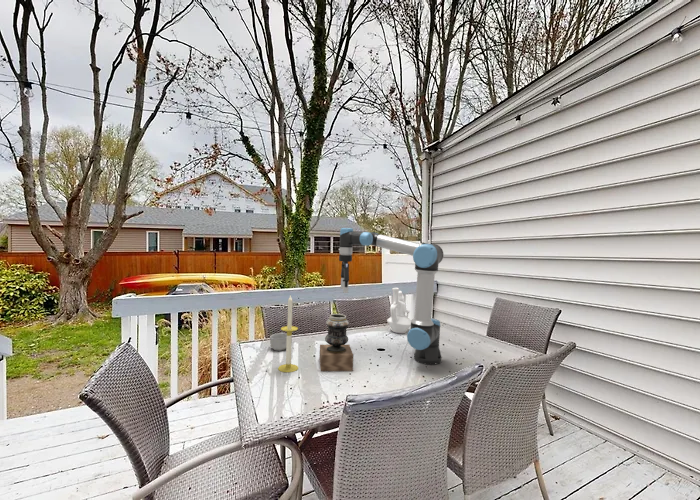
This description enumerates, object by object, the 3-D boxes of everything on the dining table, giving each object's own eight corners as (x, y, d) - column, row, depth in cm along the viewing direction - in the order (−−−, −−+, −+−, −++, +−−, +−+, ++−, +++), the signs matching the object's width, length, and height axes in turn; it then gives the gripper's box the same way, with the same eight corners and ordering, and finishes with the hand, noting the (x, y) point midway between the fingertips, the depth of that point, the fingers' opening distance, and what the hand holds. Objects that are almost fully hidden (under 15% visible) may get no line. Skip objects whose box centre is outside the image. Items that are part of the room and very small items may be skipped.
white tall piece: (416, 332, 245) (419, 287, 244) (398, 338, 230) (400, 290, 228) (396, 326, 258) (398, 284, 256) (377, 332, 242) (379, 286, 241)
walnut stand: (348, 358, 189) (349, 344, 189) (352, 370, 173) (353, 355, 173) (319, 359, 187) (319, 344, 187) (320, 371, 171) (321, 355, 171)
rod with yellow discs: (289, 374, 166) (291, 296, 164) (273, 369, 171) (275, 294, 169) (302, 367, 175) (304, 294, 173) (287, 363, 180) (289, 291, 178)
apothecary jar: (352, 350, 180) (354, 315, 179) (336, 355, 171) (337, 319, 170) (336, 344, 188) (337, 311, 187) (319, 349, 179) (321, 314, 178)
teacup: (284, 353, 194) (284, 339, 194) (266, 351, 196) (266, 337, 196) (293, 345, 208) (293, 332, 207) (276, 343, 210) (276, 330, 209)
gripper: (337, 252, 214) (336, 287, 215) (341, 255, 189) (340, 294, 190) (349, 253, 214) (348, 287, 216) (355, 256, 190) (353, 294, 191)
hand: (344, 290), depth 203 cm, fingers open, 13 cm apart
